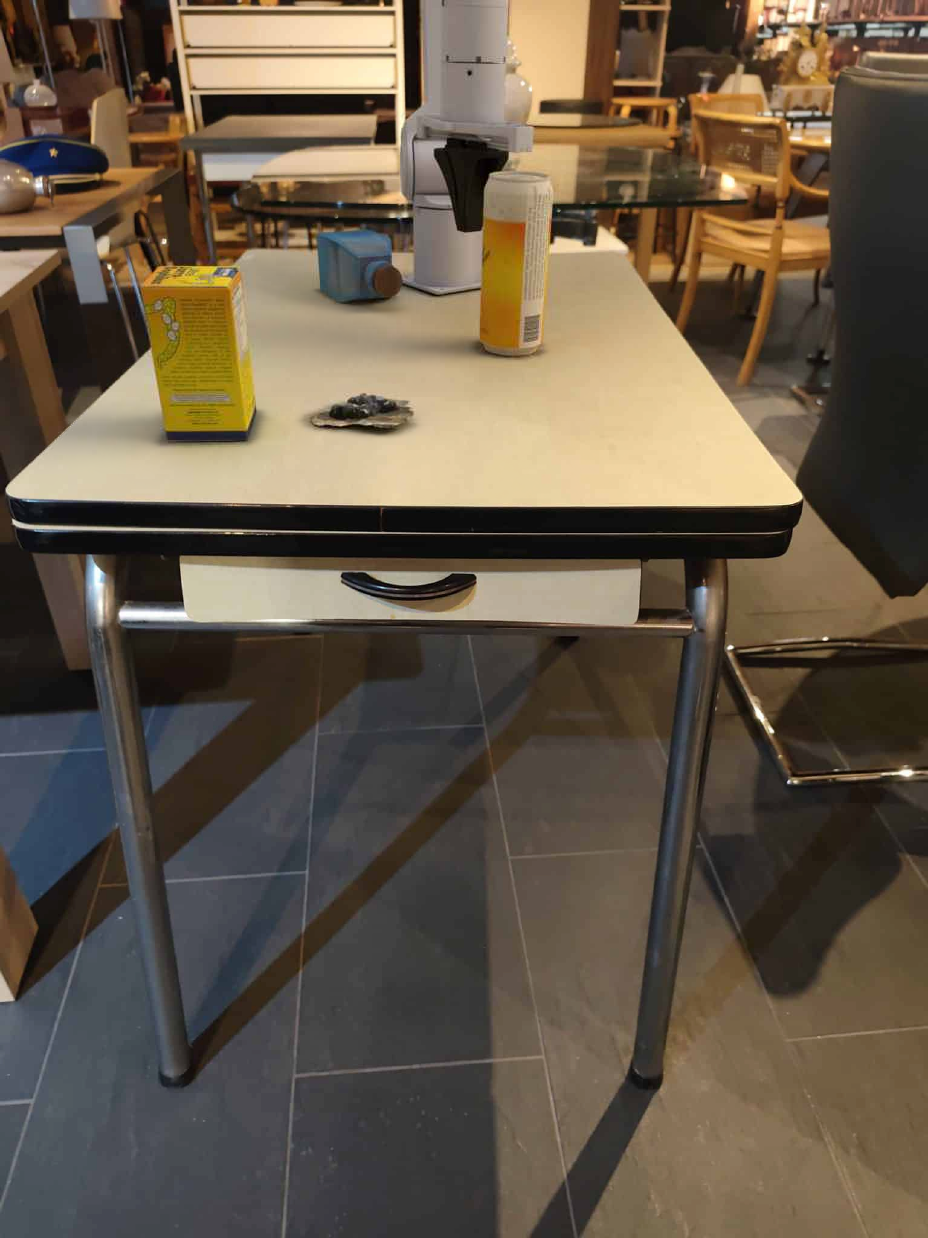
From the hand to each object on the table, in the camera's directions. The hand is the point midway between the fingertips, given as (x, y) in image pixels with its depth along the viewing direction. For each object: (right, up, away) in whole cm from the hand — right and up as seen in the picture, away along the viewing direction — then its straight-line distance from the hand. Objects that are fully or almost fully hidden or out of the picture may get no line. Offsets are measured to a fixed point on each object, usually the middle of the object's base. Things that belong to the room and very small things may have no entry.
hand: (469, 230), depth 84 cm
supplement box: (-19, -23, -18) cm, 35 cm away
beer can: (+4, -11, +1) cm, 12 cm away
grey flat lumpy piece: (-8, -22, -16) cm, 28 cm away
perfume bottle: (-15, +5, +18) cm, 24 cm away
